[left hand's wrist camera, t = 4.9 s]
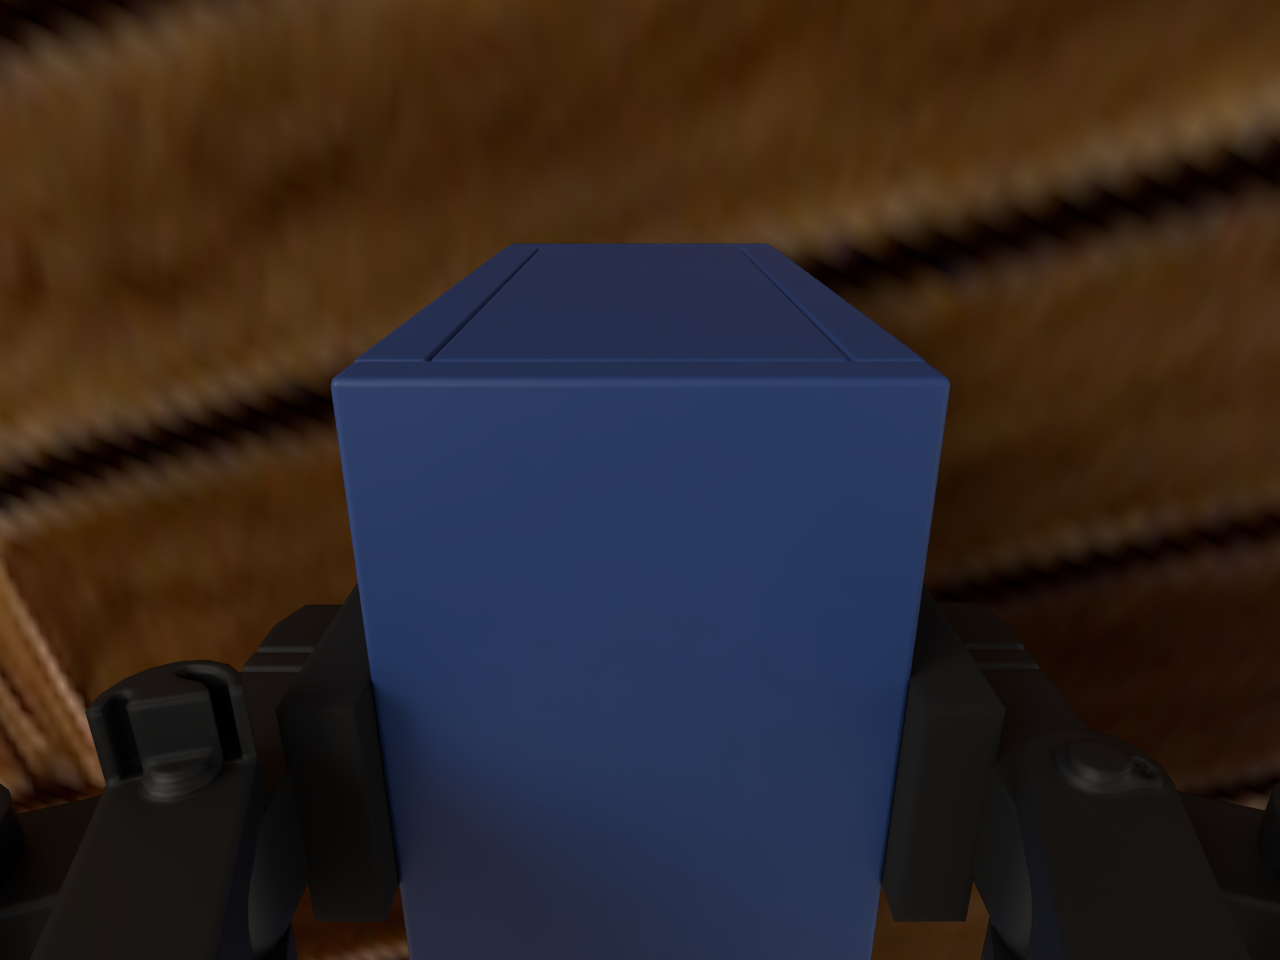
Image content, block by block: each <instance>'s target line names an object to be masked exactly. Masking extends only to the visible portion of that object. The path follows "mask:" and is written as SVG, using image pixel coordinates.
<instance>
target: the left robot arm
mask: <svg viewBox="0 0 1280 960" xmlns="http://www.w3.org/2000/svg"><path fill="white" fill-rule="evenodd" d="M1038 665H1039V664H1038V663H1037V662H1036V660H1035V659H1034V658H1033V657H1032V655H1031V654H1030V653H1029V651H1028V650H1024V645H1023V644H1022V642H1021V641H1020V640H1019V638H1018V637H1017V636H1016V635H1015V633H1014V632H1013V631H1012V629H1011V628H1010V627H1009V625H1008V624H1007V623H1006V622H1005V621H1004V620H1002V619H1000V618H999V617H997V616H996V615H994V614H993V613H991V612H990V611H988V610H987V609H985V608H984V607H982V606H980V605H979V604H977V603H976V602H936V601H935V600H934V598H933V597H932V595H931V594H930V592H929V591H928V589H927V588H926V586H925V584H924V583H923V587H922V594H921V601H920V609H919V616H918V623H917V630H916V637H915V645H914V652H913V659H912V666H911V674H910V680H909V687H908V695H907V702H906V709H905V716H904V723H903V731H902V738H901V745H900V752H899V760H898V767H897V774H896V781H895V789H894V796H893V803H892V810H891V817H890V825H889V832H888V839H887V846H886V854H885V861H884V868H883V875H882V885H883V888H884V891H885V894H886V897H887V900H888V903H889V906H890V909H891V912H892V915H893V918H894V921H966V916H967V910H968V905H969V900H970V895H971V889H972V884H973V880H974V882H975V885H976V887H977V889H978V891H979V893H980V896H981V898H982V900H983V902H984V904H985V907H986V909H987V911H988V913H989V915H990V917H989V922H988V927H987V932H986V937H985V942H984V947H983V952H982V957H981V960H1280V782H1279V783H1277V784H1276V785H1275V786H1274V787H1273V790H1272V792H1271V795H1270V798H1269V801H1268V804H1267V807H1266V810H1260V809H1255V808H1251V807H1246V806H1241V805H1237V804H1232V803H1227V802H1223V801H1218V800H1213V799H1208V798H1204V797H1199V796H1195V795H1191V794H1188V793H1184V792H1181V791H1177V789H1176V787H1175V785H1174V783H1173V782H1172V780H1171V779H1170V777H1169V776H1168V775H1167V773H1166V772H1165V771H1164V769H1163V768H1162V766H1161V765H1160V764H1158V763H1157V762H1156V761H1154V760H1153V759H1152V758H1150V757H1149V756H1148V755H1146V754H1145V753H1144V752H1143V751H1141V750H1140V749H1139V748H1136V747H1134V746H1132V745H1130V744H1128V743H1126V742H1124V741H1122V740H1119V739H1117V738H1115V737H1113V736H1111V735H1107V734H1103V733H1099V732H1095V731H1091V730H1089V729H1088V728H1087V727H1086V725H1085V724H1084V723H1083V721H1082V720H1081V719H1080V717H1079V716H1078V715H1077V714H1076V712H1075V711H1074V710H1073V708H1072V707H1071V706H1070V704H1069V703H1068V702H1067V701H1066V699H1065V698H1064V697H1063V695H1062V694H1061V693H1060V692H1059V690H1058V689H1057V688H1056V686H1055V685H1054V684H1053V682H1052V681H1051V680H1050V679H1049V677H1048V676H1047V675H1046V673H1045V672H1044V671H1043V669H1039V667H1038ZM85 713H86V716H87V720H88V723H89V727H90V730H91V734H92V737H93V740H94V744H95V747H96V751H97V754H98V758H99V761H100V765H101V768H102V772H103V775H104V779H105V782H106V786H105V789H104V791H103V793H102V795H99V796H95V797H92V798H88V799H84V800H80V801H75V802H70V803H66V804H61V805H56V806H52V807H47V808H42V809H38V810H33V811H28V812H24V813H19V814H17V813H16V810H15V807H14V804H13V801H12V798H11V795H10V792H9V790H8V789H7V788H5V787H4V786H3V785H2V784H0V960H297V951H296V944H295V937H294V932H293V927H292V922H291V919H292V917H293V915H294V913H295V910H296V908H297V906H298V904H299V902H300V899H301V897H302V895H303V893H304V891H305V888H306V886H307V884H308V885H309V890H310V896H311V901H312V906H313V911H314V917H315V921H387V918H388V915H389V912H390V908H391V905H392V902H393V899H394V896H395V893H396V890H397V887H398V884H399V876H398V868H397V861H396V854H395V847H394V839H393V832H392V825H391V818H390V810H389V803H388V796H387V789H386V781H385V774H384V767H383V760H382V752H381V745H380V738H379V731H378V723H377V716H376V709H375V702H374V694H373V687H372V680H371V673H370V666H369V659H368V652H367V644H366V637H365V630H364V623H363V615H362V608H361V601H360V594H359V586H358V583H357V584H356V586H355V587H354V589H353V590H352V592H351V593H350V595H349V596H348V598H347V599H346V601H345V603H344V604H343V605H305V606H303V607H302V608H300V609H299V610H297V611H296V612H294V613H293V614H291V615H290V616H288V617H286V618H285V619H283V620H282V621H280V622H279V623H277V624H276V625H275V626H274V627H273V629H272V630H271V631H270V632H269V634H268V635H267V636H266V638H265V639H264V640H263V642H262V643H261V644H260V646H259V647H258V652H257V653H253V655H252V656H251V657H250V659H249V660H248V661H247V663H246V664H245V665H244V666H243V672H238V671H236V670H235V669H234V668H233V667H231V666H230V665H229V664H224V663H220V662H215V661H211V660H194V661H179V662H175V663H170V664H166V665H162V666H157V667H153V668H150V669H147V670H145V671H143V672H140V673H138V674H135V675H133V676H130V677H128V678H126V679H123V680H122V681H120V682H119V683H117V684H116V685H114V686H112V687H111V688H109V689H108V690H106V691H105V692H103V693H102V694H100V695H99V696H98V697H97V699H96V700H95V701H94V702H93V703H92V704H91V706H90V707H89V708H88V709H87V710H86V711H85Z"/></svg>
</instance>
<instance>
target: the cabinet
mask: <svg viewBox="0 0 1280 960" xmlns="http://www.w3.org/2000/svg"><path fill="white" fill-rule="evenodd" d="M331 391H332V398H333V405H334V413H335V420H336V427H337V434H338V442H339V449H340V456H341V463H342V471H343V478H344V485H345V492H346V499H347V507H348V514H349V521H350V528H351V536H352V543H353V550H354V557H355V565H356V572H357V579H358V586H359V594H360V601H361V608H362V615H363V623H364V630H365V637H366V644H367V652H368V659H369V666H370V673H371V680H372V687H373V694H374V702H375V709H376V716H377V723H378V731H379V738H380V745H381V752H382V760H383V767H384V774H385V781H386V789H387V796H388V803H389V810H390V818H391V825H392V832H393V839H394V847H395V854H396V861H397V868H398V876H399V883H400V890H401V898H402V905H403V912H404V919H405V927H406V934H407V941H408V948H409V956H410V960H871V956H872V948H873V941H874V934H875V927H876V919H877V912H878V905H879V898H880V890H881V883H882V875H883V868H884V861H885V854H886V846H887V839H888V832H889V825H890V817H891V810H892V803H893V796H894V789H895V781H896V774H897V767H898V760H899V752H900V745H901V738H902V731H903V723H904V716H905V709H906V702H907V695H908V687H909V680H910V674H911V666H912V659H913V652H914V645H915V637H916V630H917V623H918V616H919V609H920V601H921V594H922V587H923V580H924V572H925V565H926V558H927V551H928V543H929V536H930V529H931V522H932V515H933V507H934V500H935V493H936V486H937V478H938V471H939V464H940V457H941V449H942V442H943V435H944V428H945V421H946V413H947V406H948V399H949V392H950V382H949V379H948V378H947V377H946V376H944V375H943V374H942V373H940V372H939V371H938V370H936V369H935V368H934V367H932V366H931V365H930V364H928V363H925V360H924V359H923V358H922V357H920V356H919V355H918V354H916V353H915V352H914V351H912V350H911V349H910V348H908V347H907V346H906V345H904V344H903V343H902V342H900V341H899V340H898V339H896V338H895V337H894V336H892V335H891V334H890V333H888V332H887V331H885V330H884V329H883V328H881V327H880V326H879V325H877V324H876V323H875V322H873V321H872V320H871V319H869V318H868V317H867V316H865V315H864V314H863V313H861V312H860V311H859V310H857V309H856V308H855V307H853V306H852V305H850V304H849V303H848V302H846V301H845V300H844V299H842V298H841V297H840V296H838V295H837V294H836V293H834V292H833V291H832V290H830V289H829V288H828V287H826V286H825V285H824V284H822V283H821V282H820V281H818V280H817V279H815V278H814V277H813V276H811V275H810V274H809V273H807V272H806V271H805V270H803V269H802V268H801V267H799V266H798V265H797V264H795V263H794V262H793V261H791V260H790V259H789V258H787V257H786V256H785V255H783V254H782V253H781V252H779V251H778V250H776V249H775V248H773V247H772V246H770V245H769V244H511V245H510V246H508V247H506V248H504V249H503V250H502V251H500V252H499V253H498V254H496V255H495V256H494V257H492V258H491V259H490V260H488V261H487V262H486V263H484V264H483V265H482V266H480V267H479V268H477V269H476V270H475V271H473V272H472V273H471V274H469V275H468V276H467V277H465V278H464V279H463V280H461V281H460V282H459V283H457V284H456V285H455V286H453V287H452V288H451V289H449V290H448V291H447V292H445V293H444V294H443V295H441V296H440V297H439V298H437V299H436V300H435V301H433V302H432V303H431V304H429V305H428V306H427V307H425V308H424V309H423V310H421V311H420V312H419V313H417V314H416V315H415V316H413V317H412V318H410V319H409V320H408V321H406V322H405V323H404V324H402V325H401V326H400V327H398V328H397V329H396V330H394V331H393V332H392V333H390V334H389V335H388V336H386V337H385V338H384V339H382V340H381V341H380V342H378V343H377V344H376V345H374V346H373V347H372V348H370V349H369V350H368V351H366V352H365V353H364V354H362V355H361V356H360V357H358V358H357V359H356V360H355V363H354V364H352V365H350V366H349V367H348V368H346V369H345V370H344V371H342V372H341V373H340V374H338V375H337V376H336V377H334V378H333V380H332V383H331Z"/></svg>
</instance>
